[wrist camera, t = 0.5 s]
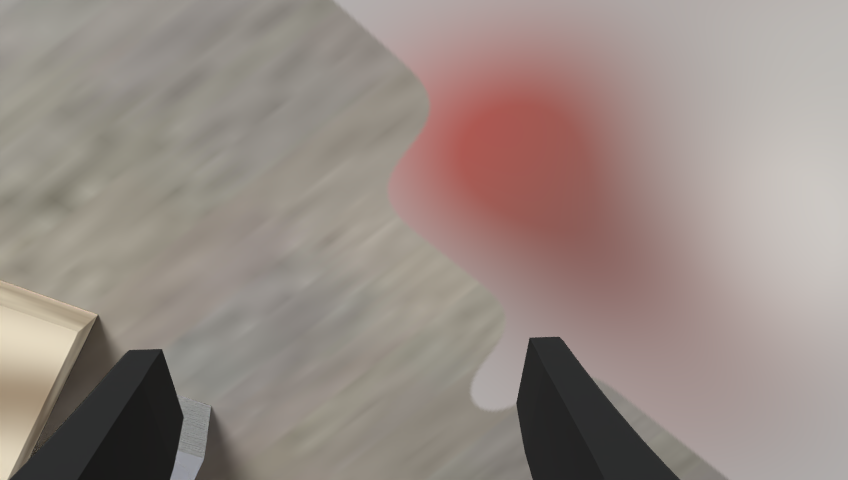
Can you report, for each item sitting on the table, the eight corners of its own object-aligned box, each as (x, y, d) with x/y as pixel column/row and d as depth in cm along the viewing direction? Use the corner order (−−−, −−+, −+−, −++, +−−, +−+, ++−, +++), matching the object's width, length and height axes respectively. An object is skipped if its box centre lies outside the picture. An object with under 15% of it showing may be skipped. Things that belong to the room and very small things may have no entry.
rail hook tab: (192, 445, 33) (180, 508, 27) (103, 418, 32) (67, 478, 25) (211, 405, 34) (204, 458, 27) (123, 376, 32) (92, 425, 25)
